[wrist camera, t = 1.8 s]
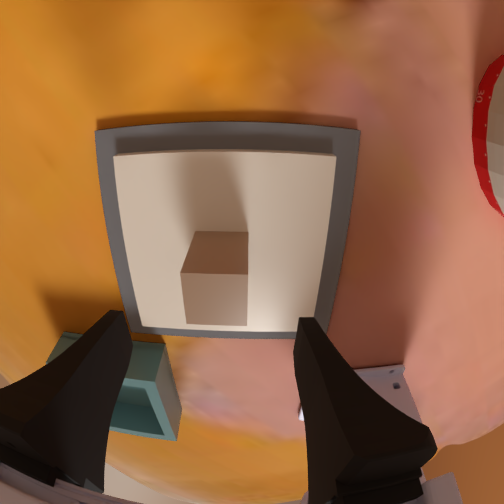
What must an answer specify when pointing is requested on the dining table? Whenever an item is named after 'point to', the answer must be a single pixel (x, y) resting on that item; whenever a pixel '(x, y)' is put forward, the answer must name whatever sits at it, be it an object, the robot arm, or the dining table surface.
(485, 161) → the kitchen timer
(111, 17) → the dining table surface
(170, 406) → the teal square tray
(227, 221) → the lid
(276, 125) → the mat
